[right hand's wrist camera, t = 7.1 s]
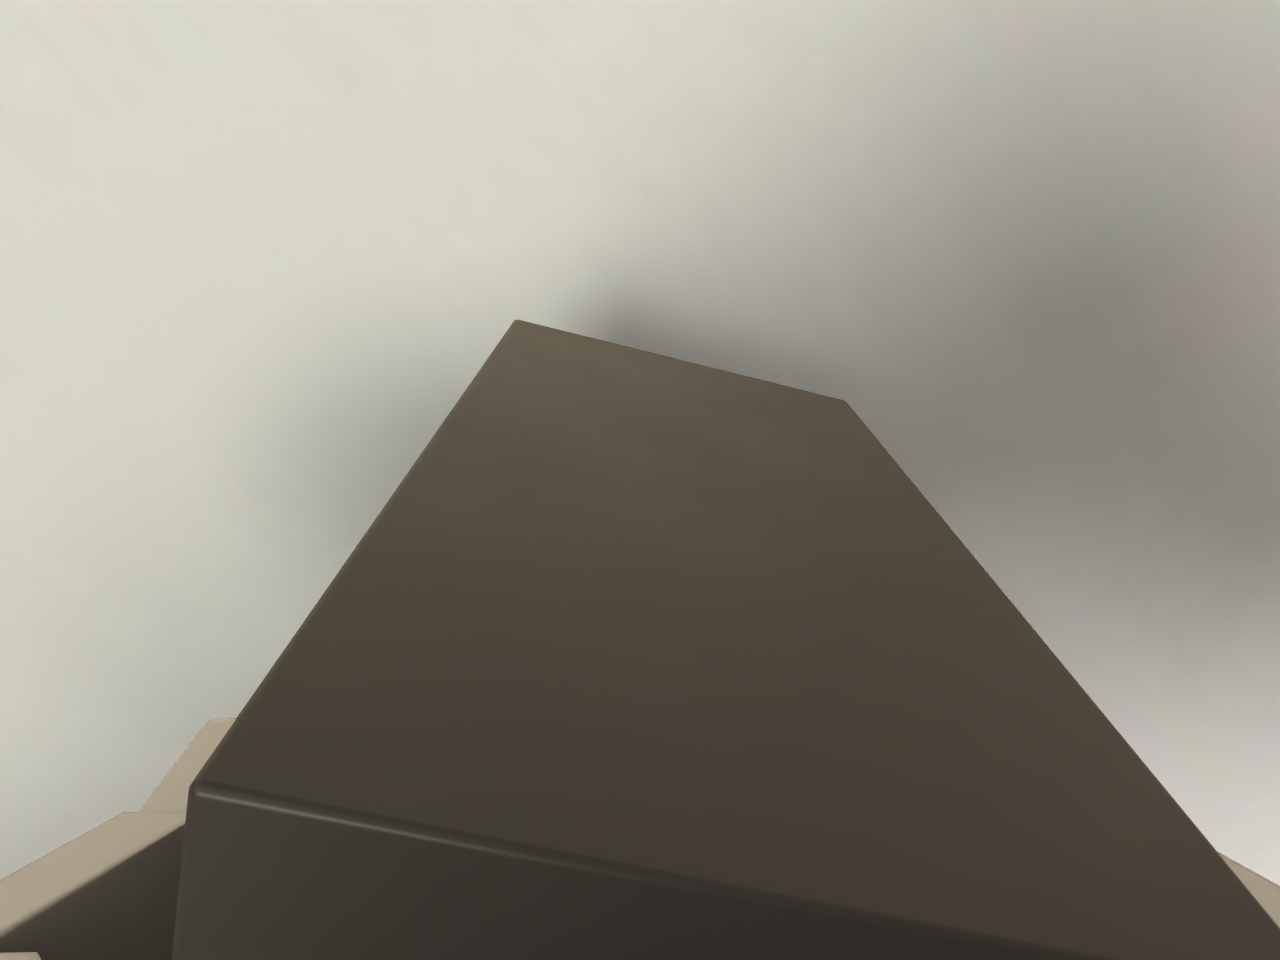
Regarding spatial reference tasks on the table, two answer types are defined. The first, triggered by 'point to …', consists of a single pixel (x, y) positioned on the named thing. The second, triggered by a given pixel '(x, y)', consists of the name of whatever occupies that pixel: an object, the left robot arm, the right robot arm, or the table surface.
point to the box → (680, 713)
